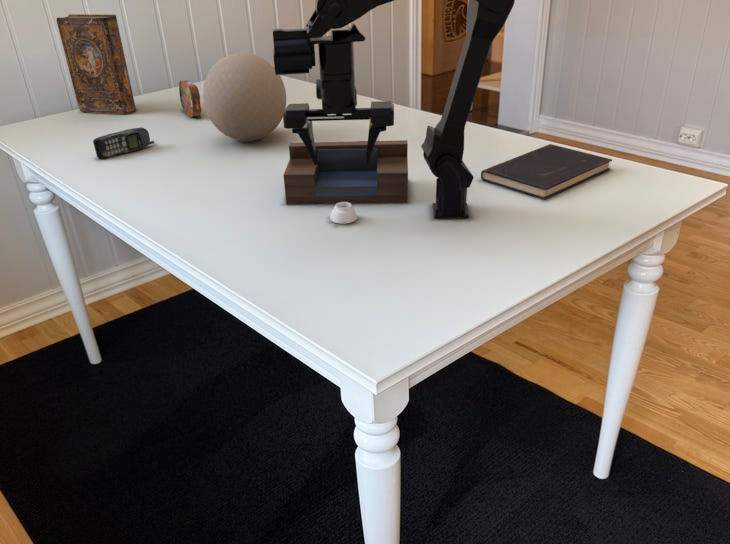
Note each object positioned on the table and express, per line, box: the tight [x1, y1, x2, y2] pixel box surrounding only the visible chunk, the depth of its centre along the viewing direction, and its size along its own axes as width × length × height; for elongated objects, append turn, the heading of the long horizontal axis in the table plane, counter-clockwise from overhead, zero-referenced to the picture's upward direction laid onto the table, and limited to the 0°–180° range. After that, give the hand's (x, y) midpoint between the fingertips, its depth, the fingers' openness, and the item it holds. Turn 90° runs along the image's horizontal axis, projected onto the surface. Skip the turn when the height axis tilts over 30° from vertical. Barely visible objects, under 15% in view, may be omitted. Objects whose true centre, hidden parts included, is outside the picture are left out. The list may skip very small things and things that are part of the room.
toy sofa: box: [282, 139, 409, 205], centre depth 136 cm, size 12×24×8 cm, turn 87°
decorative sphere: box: [202, 52, 287, 142], centre depth 165 cm, size 20×20×20 cm
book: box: [56, 13, 137, 116], centre depth 192 cm, size 16×6×25 cm, turn 73°
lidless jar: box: [329, 202, 358, 225], centre depth 127 cm, size 5×3×5 cm
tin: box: [178, 80, 202, 118], centre depth 190 cm, size 15×3×8 cm, turn 25°
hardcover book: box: [480, 143, 613, 201], centre depth 142 cm, size 16×23×2 cm
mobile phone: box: [92, 127, 155, 160], centre depth 165 cm, size 5×3×15 cm
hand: (341, 164), depth 121 cm, fingers open, 9 cm apart
